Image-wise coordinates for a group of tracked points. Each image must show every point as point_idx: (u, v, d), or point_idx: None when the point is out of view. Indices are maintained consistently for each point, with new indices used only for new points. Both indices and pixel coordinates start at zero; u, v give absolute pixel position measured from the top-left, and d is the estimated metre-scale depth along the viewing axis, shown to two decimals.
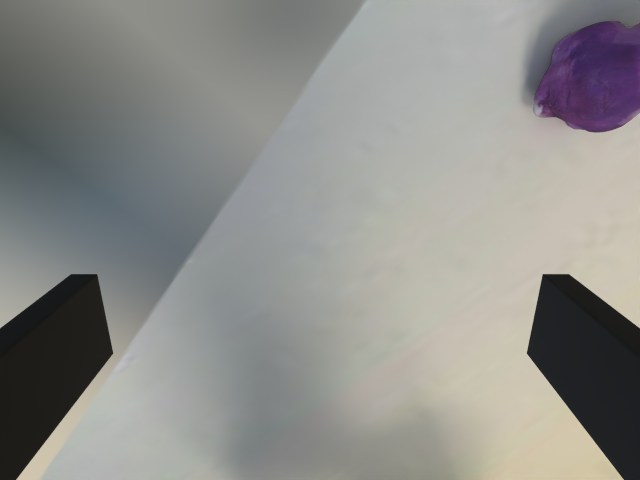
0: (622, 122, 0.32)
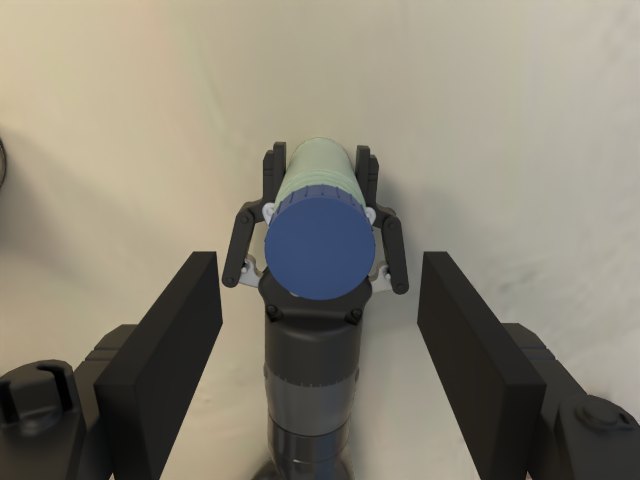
0: None
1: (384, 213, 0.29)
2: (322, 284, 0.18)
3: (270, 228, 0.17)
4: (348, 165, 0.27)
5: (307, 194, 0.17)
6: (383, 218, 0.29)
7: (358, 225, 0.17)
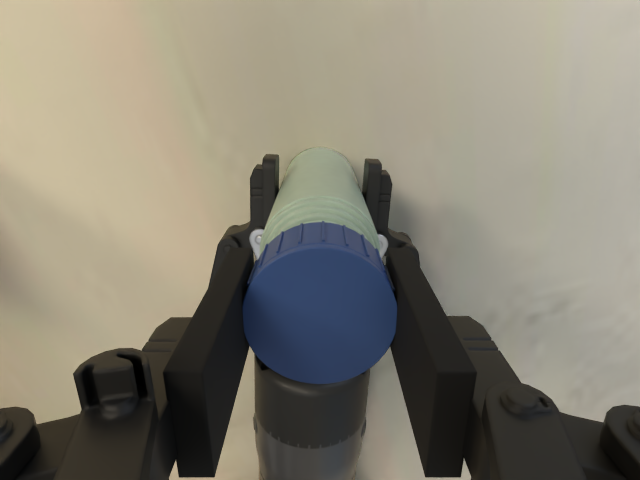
0: None
1: (398, 241, 0.24)
2: (323, 364, 0.13)
3: (249, 290, 0.12)
4: (355, 184, 0.22)
5: (302, 240, 0.12)
6: (396, 247, 0.24)
7: (374, 286, 0.12)
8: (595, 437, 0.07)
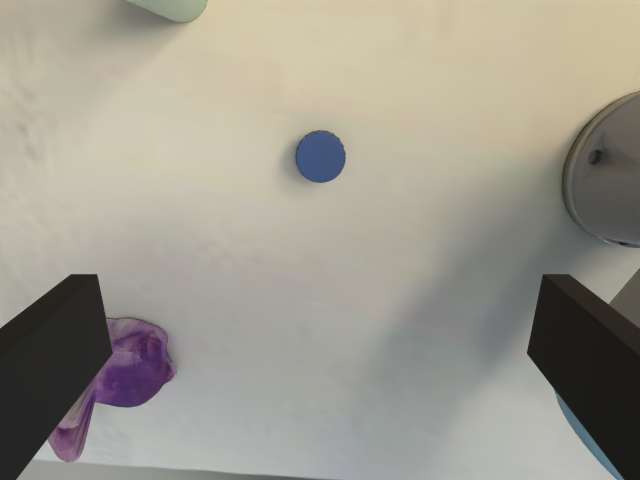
0: (138, 359, 0.43)
1: None
2: (314, 173, 0.40)
3: (306, 138, 0.39)
4: (160, 4, 0.30)
5: (327, 133, 0.39)
6: None
7: (341, 155, 0.39)
8: None
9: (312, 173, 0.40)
